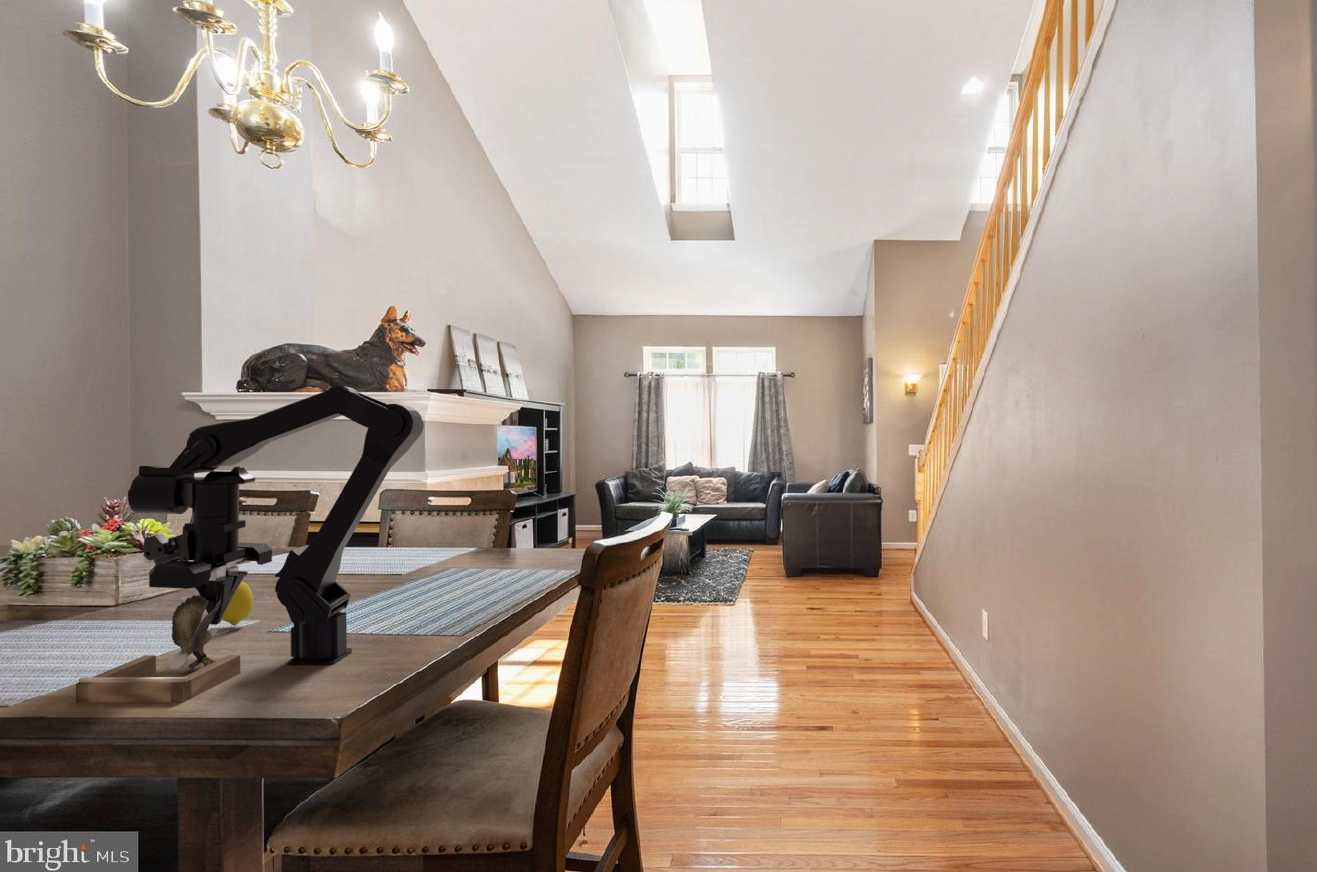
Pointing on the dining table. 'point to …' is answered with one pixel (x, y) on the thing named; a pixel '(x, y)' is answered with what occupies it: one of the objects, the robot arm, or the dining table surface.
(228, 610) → the lemon
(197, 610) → the eagle figurine
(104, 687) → the wooden tray
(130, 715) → the dining table surface
